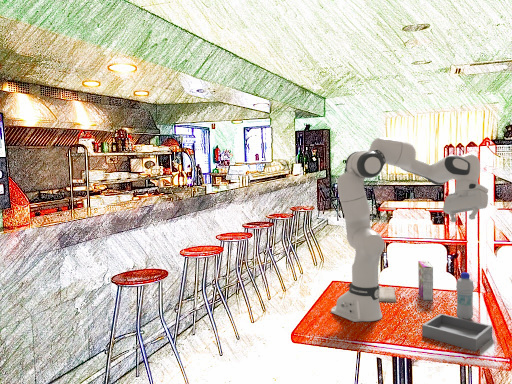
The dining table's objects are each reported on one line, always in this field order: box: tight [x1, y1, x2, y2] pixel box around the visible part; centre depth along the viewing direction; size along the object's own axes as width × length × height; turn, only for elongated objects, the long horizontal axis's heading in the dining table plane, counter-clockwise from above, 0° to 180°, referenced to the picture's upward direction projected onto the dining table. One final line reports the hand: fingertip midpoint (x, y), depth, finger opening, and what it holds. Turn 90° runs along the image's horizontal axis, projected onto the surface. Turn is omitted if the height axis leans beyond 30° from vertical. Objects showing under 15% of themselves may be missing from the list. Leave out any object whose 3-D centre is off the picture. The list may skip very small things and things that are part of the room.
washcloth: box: [379, 286, 397, 303], centre depth 225 cm, size 12×18×3 cm, turn 168°
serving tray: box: [421, 313, 493, 352], centre depth 175 cm, size 20×16×4 cm
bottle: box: [456, 271, 475, 321], centre depth 192 cm, size 7×7×20 cm
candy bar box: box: [417, 260, 434, 301], centre depth 221 cm, size 11×5×16 cm, turn 171°
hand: (462, 220), depth 193 cm, fingers open, 8 cm apart
